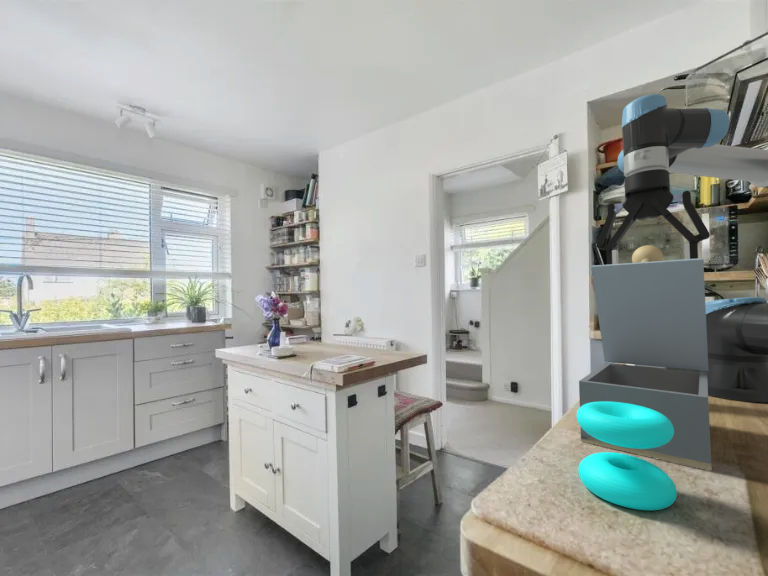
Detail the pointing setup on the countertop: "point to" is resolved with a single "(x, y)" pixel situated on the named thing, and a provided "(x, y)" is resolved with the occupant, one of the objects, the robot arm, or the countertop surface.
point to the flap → (653, 311)
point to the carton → (657, 407)
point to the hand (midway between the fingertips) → (650, 279)
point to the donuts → (621, 471)
